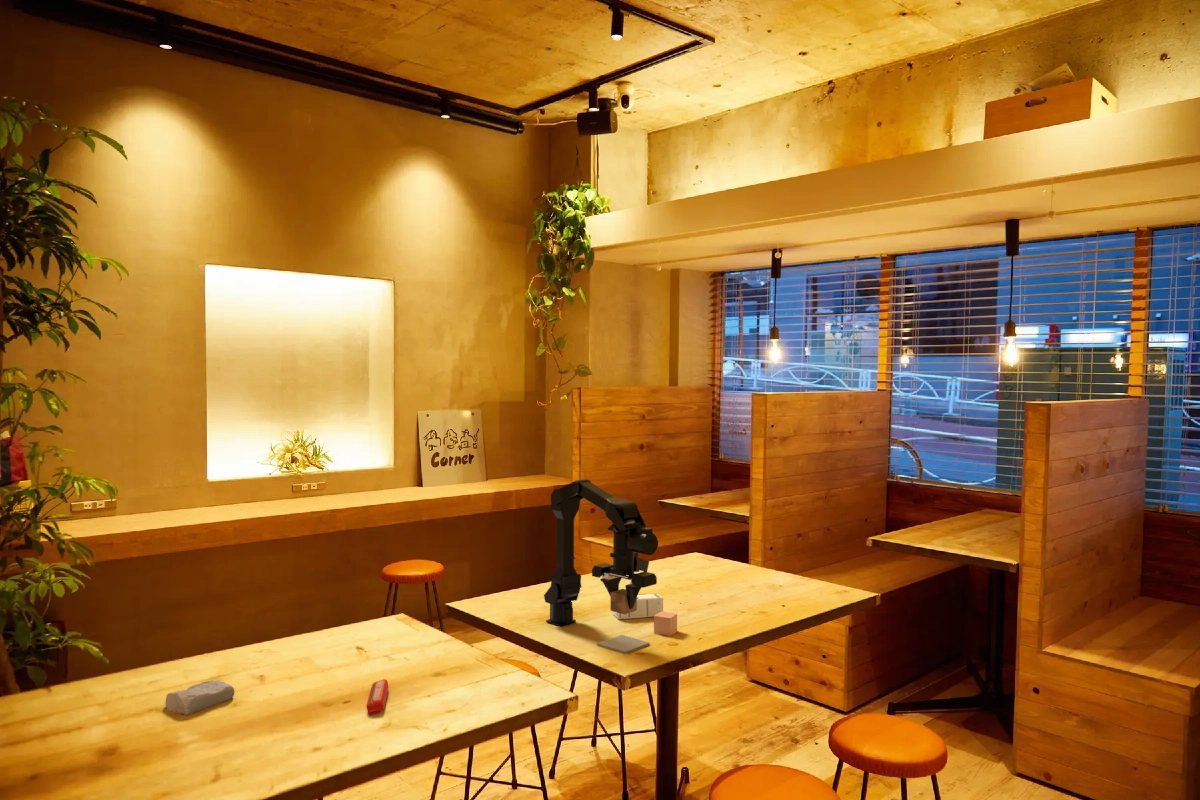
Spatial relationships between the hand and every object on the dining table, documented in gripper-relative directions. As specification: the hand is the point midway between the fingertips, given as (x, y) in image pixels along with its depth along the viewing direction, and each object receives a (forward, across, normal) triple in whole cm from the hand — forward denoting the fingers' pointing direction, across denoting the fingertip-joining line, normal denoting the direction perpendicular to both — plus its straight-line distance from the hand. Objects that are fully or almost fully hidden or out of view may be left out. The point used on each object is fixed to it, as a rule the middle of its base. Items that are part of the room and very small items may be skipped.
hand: (623, 606), depth 219 cm
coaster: (+10, 0, 0) cm, 10 cm away
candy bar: (+11, +14, +66) cm, 69 cm away
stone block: (+11, +43, +94) cm, 104 cm away
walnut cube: (+1, 0, 0) cm, 1 cm away
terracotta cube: (+10, -1, -17) cm, 20 cm away
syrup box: (+8, +11, -30) cm, 33 cm away
